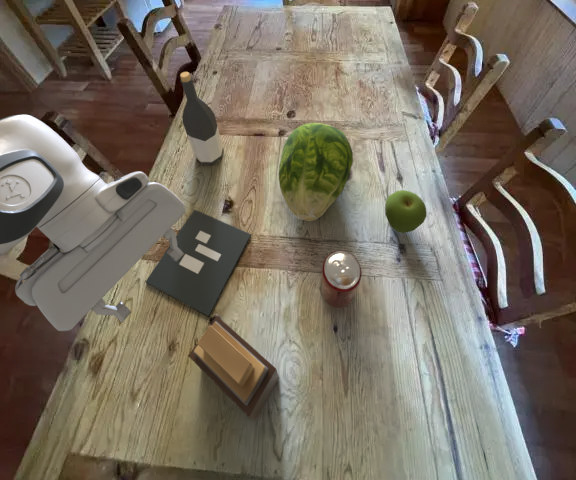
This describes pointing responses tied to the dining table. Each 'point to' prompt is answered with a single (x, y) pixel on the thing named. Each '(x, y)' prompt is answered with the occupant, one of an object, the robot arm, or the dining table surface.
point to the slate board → (200, 262)
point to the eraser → (231, 362)
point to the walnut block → (264, 388)
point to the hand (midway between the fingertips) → (154, 285)
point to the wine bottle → (200, 125)
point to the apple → (405, 211)
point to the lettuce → (314, 169)
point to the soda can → (340, 278)
